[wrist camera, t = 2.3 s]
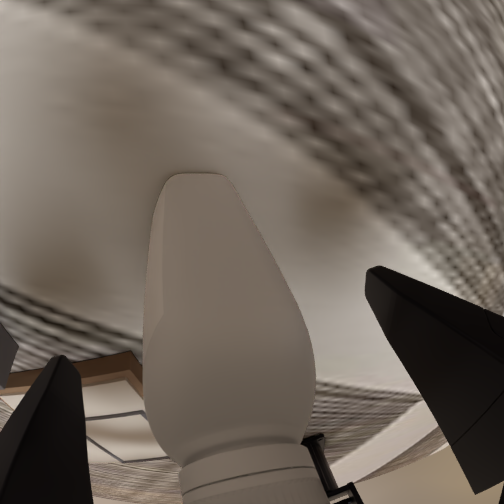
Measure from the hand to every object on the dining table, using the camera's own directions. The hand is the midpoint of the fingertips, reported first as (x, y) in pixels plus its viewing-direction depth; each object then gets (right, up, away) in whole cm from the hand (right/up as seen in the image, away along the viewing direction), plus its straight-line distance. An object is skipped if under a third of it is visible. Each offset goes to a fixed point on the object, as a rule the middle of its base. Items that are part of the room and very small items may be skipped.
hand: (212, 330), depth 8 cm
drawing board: (-9, -9, +9) cm, 16 cm away
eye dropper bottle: (-1, +3, +4) cm, 5 cm away
